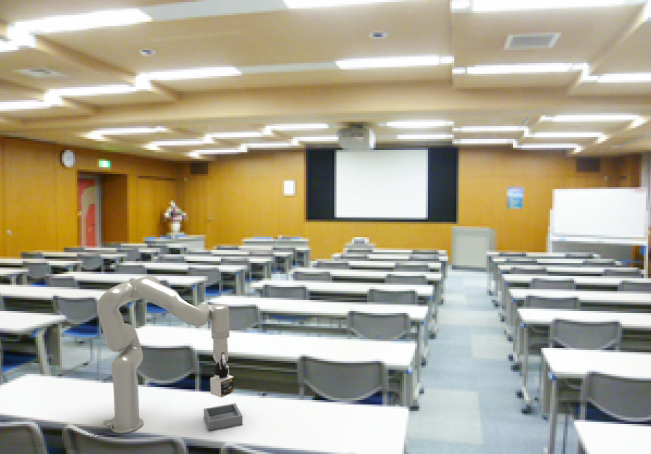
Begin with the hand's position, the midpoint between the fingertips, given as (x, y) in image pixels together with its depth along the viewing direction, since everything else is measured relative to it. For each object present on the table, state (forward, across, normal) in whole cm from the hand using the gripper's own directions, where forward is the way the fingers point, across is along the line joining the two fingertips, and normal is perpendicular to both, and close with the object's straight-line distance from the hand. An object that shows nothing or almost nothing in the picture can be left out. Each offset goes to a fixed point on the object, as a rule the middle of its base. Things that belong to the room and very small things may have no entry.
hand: (221, 374), depth 204 cm
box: (+20, 0, 0) cm, 20 cm away
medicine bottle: (+8, 0, 0) cm, 8 cm away
